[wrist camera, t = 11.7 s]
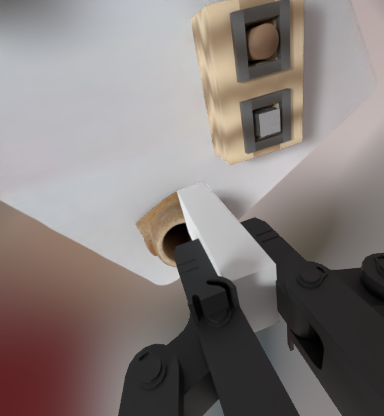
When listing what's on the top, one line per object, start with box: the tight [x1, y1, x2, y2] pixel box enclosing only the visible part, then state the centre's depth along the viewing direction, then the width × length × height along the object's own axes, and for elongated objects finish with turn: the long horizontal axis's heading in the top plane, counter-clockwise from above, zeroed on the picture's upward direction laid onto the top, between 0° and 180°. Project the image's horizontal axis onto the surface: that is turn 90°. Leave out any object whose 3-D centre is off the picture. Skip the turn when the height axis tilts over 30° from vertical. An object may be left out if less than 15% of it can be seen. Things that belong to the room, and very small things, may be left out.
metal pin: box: [252, 106, 281, 137], centre depth 43 cm, size 4×4×9 cm
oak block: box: [191, 0, 304, 165], centre depth 40 cm, size 22×14×9 cm, turn 13°
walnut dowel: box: [245, 23, 279, 61], centre depth 37 cm, size 4×4×9 cm
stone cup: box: [136, 192, 192, 267], centre depth 46 cm, size 15×12×15 cm
